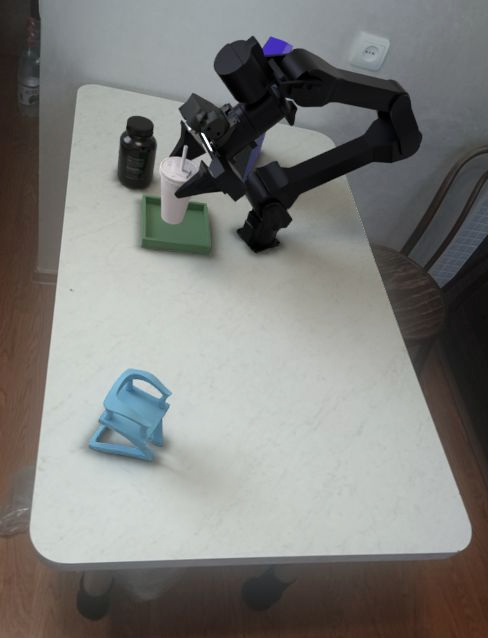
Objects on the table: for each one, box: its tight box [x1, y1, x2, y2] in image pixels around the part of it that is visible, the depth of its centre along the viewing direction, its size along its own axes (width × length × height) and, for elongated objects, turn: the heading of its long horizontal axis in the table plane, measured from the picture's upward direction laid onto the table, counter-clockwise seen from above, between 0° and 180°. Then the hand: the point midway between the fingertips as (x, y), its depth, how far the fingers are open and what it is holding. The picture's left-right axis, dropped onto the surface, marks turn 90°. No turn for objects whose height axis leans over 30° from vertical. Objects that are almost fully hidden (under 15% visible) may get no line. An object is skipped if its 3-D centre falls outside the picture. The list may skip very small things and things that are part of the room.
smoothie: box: [158, 145, 199, 224], centre depth 86 cm, size 6×6×14 cm
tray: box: [140, 193, 212, 256], centre depth 99 cm, size 12×12×2 cm
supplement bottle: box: [116, 115, 158, 190], centre depth 101 cm, size 7×7×12 cm
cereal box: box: [233, 36, 294, 182], centre depth 108 cm, size 17×5×24 cm, turn 164°
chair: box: [88, 368, 173, 462], centre depth 68 cm, size 8×8×12 cm
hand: (169, 182), depth 86 cm, fingers closed on smoothie, 6 cm apart
